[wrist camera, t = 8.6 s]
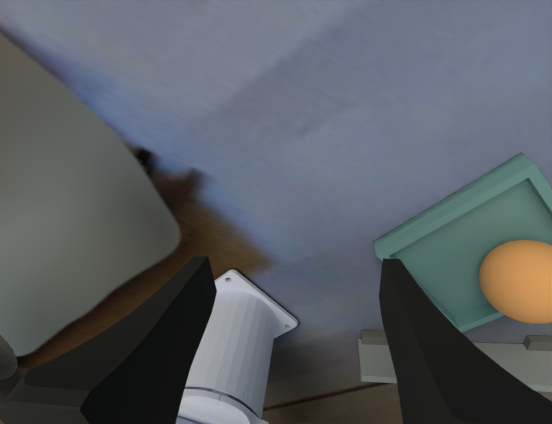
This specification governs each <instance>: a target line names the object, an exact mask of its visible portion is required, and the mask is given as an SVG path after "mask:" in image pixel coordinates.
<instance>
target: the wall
mask: <svg viewBox="0 0 552 424" xmlns="http://www.w3.org/2000/svg"><path fill="white" fill-rule="evenodd" d="M472 343H473V344H474V345H475V346H477V347H478V348H479V349H480V350H481V351H482V352H484V353H485V354H486V355H487V356H489V357H490V358H491V359H492V360H494V361H495V362H496V363H497V364H499V365H500V366H501V367H502V368H504V369H505V370H506V371H508V372H509V373H510V374H512V375H513V376H515V377H516V378H517V379H519V380H520V381H521V382H523V383H524V384H526V385H527V386H529V387H530V388H531V389H533V390H535V391H545V392H552V336H531V335H527V337H526V339H525V341H524V344H506V343H477V342H472ZM358 352H359V363H360V374H361V381H364V382H382V383H397V379H396V374H395V370H394V366H393V362H392V358H391V354H390V350H389V346H388V342H387V338H386V334H385V331H364V330H362V333H361V339H359V338H358Z"/></svg>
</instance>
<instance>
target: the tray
mask: <svg viewBox="0 0 552 424" xmlns="http://www.w3.org/2000/svg"><path fill="white" fill-rule="evenodd" d="M514 240H535V241H540V242H544V243H546V244H549V245H552V188H551V187H550V185H549V183H548V182H547V180H546V179H545V177H544V176H543V174H542V173H541V171H540V170H539V168H538V167H537V165H536V164H535V163H534V162H533V161H532V160H530V159H529V158H528V157H526V156H525V155H524V154H522V153H520V154H518V155H517V156H515V157H513V158H512V159H510V160H508V161H507V162H505V163H503V164H502V165H500V166H498V167H497V168H495V169H493V170H492V171H490V172H488V173H487V174H485V175H483V176H482V177H480V178H478V179H477V180H475V181H473V182H472V183H470V184H468V185H467V186H465V187H463V188H462V189H460V190H458V191H457V192H455V193H453V194H452V195H450V196H448V197H447V198H445V199H443V200H442V201H440V202H438V203H437V204H435V205H433V206H432V207H430V208H428V209H427V210H425V211H423V212H422V213H420V214H418V215H417V216H415V217H413V218H412V219H410V220H408V221H407V222H405V223H403V224H402V225H400V226H398V227H397V228H395V229H393V230H392V231H390V232H388V233H387V234H385V235H383V236H382V237H380V238H378V239H377V240H375V241H373V244H374V249H375V254H376V256H377V257H378V258H379V259H380V260H381V261H382V262H383V258H385V259H400V260H401V261H402V262H403V264H404V265H405V267H406V268H407V270H408V271H409V273H410V274H411V275H412V277H413V278H414V279H415V281H416V282H417V283H418V285H419V286H420V287H421V289H422V290H423V291H424V292H425V293H426V295H427V296H428V297H429V298H430V300H431V301H432V302H433V303H434V304H435V305H436V307H437V308H438V309H439V310H440V311H441V312H442V313H443V314H444V315H445V317H446V318H447V319H448V320H449V321H450V322H451V323H452V324H453V325H454V326H455V327H456V328H457V329H458V330H459V331H460V332H461V333H462V332H464V331H467V330H469V329H472V328H475V327H477V326H480V325H482V324H485V323H487V322H490V321H492V320H495V319H497V318H500V317H502V316H505V315H504V314H502V313H501V312H499V311H498V310H497V309H496V308H494V307H493V306H492V305H491V304H490V303H489V301H488V300H487V299H486V297H485V296H484V294H483V292H482V289H481V286H480V282H479V271H480V267H481V264H482V262H483V260H484V258H485V257H486V256H487V254H488V253H489V252H490V251H492V250H493V249H494V248H496V247H497V246H499V245H501V244H504V243H506V242H510V241H514Z"/></svg>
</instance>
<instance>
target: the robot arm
mask: <svg viewBox="0 0 552 424" xmlns="http://www.w3.org/2000/svg"><path fill="white" fill-rule="evenodd" d="M228 278H230V279H228ZM379 299H380V307H381V315H382V321H383V326H384V330H385V334H386V338H387V342H388V346H389V350H390V354H391V358H392V362H393V366H394V370H395V374H396V379H397V384H398V390H399V397H400V404H401V410H402V418H403V424H552V402H551V401H550V400H548V399H547V398H545V397H544V396H542V395H541V394H539V393H538V392H536V391H535V390H533V389H531V388H530V387H529V386H527V385H526V384H524V383H523V382H521V381H520V380H519V379H517V378H516V377H515V376H513V375H512V374H510V373H509V372H508V371H506V370H505V369H504V368H502V367H501V366H500V365H499V364H497V363H496V362H495V361H494V360H492V359H491V358H490V357H489V356H487V355H486V354H485V353H484V352H482V351H481V350H480V349H479V348H478V347H477V346H475V345H474V344H473V343H472V342H471V341H470V340H469V339H468V338H467V337H466V336H464V335H463V334H462V333H461V332H460V331H459V330H458V329H457V328H456V327H455V326H454V325H453V324H452V323H451V322H450V321H449V320H448V319H447V318H446V317H445V315H444V314H443V313H442V312H441V311H440V310H439V309H438V308H437V307H436V305H435V304H434V303H433V302H432V301H431V300H430V298H429V297H428V296H427V295H426V293H425V292H424V291H423V290H422V289H421V287H420V286H419V285H418V283H417V282H416V281H415V279H414V278H413V277H412V275H411V274H410V273H409V271H408V270H407V268H406V267H405V265H404V264H403V262H402V261H401V260H400V259H385V258H383V263H382V273H381V282H380V292H379ZM297 323H298V321H297V320H296V319H295V318H294V317H293V316H292V315H290V314H289V313H288V312H287V311H286V310H284V309H283V308H282V307H281V306H279V305H278V304H277V303H276V302H274V301H273V300H272V299H271V298H270V297H268V296H267V295H266V294H265V293H263V292H262V291H261V290H260V289H258V288H257V287H256V286H255V285H253V284H252V283H251V282H250V281H249V280H247V279H246V278H245V277H244V276H242V275H241V274H240V273H239V272H237V271H236V270H229V271H228V272H226V273H225V274H223V275H222V276H221V277H219V278H218V279H216V280H215V281H214V278H213V274H212V270H211V266H210V262H209V258H208V257H207V256H195V257H193V258H192V259H191V260H190V261H189V262H188V263H187V264H186V265H185V266H184V267H183V268H182V269H181V270H180V271H179V272H177V273H176V274H175V275H174V276H173V277H172V278H171V279H170V280H169V281H168V282H167V283H166V284H165V285H164V286H162V287H161V288H160V289H159V290H158V291H157V292H156V293H154V294H153V295H152V296H151V297H150V298H149V299H147V300H146V301H145V302H144V303H143V304H141V305H140V306H139V307H138V308H136V309H135V310H134V311H132V312H131V313H130V314H128V315H127V316H126V317H124V318H123V319H121V320H120V321H119V322H117V323H116V324H114V325H113V326H111V327H109V328H108V329H106V330H105V331H103V332H102V333H100V334H98V335H97V336H95V337H94V338H92V339H90V340H89V341H87V342H85V343H83V344H81V345H80V346H78V347H76V348H74V349H72V350H70V351H69V352H67V353H65V354H63V355H61V356H59V357H57V358H55V359H52V360H50V361H48V362H46V363H44V364H42V365H40V366H38V367H36V368H33V369H31V370H29V371H28V372H27V373H26V374H25V375H24V376H23V378H22V379H21V380H20V381H19V383H18V384H17V385H16V386H15V388H14V389H13V390H12V391H11V392H10V394H9V395H8V396H7V397H6V399H5V400H4V401H3V402H2V404H1V405H0V419H1V420H2V422H3V423H4V424H269V423H268V422H267V421H265V420H262V419H261V418H262V412H263V405H264V399H265V392H266V386H267V379H268V373H269V366H270V360H271V354H272V347H273V341H274V338H276V337H278V336H280V335H282V334H284V333H286V332H287V331H289V330H291V329H293V328H295V327H296V326H297Z"/></svg>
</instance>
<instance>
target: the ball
mask: <svg viewBox="0 0 552 424" xmlns="http://www.w3.org/2000/svg"><path fill="white" fill-rule="evenodd" d="M479 282H480V286H481V289H482V292H483V294H484V296H485V297H486V299H487V300H488V301H489V303H490V304H491V305H492V306H493V307H494V308H496V309H497V310H498V311H499V312H501V313H502V314H504V315H506V316H507V317H509V318H512V319H514V320H517V321H521V322H525V323H531V324H544V323H550V322H552V245H549V244H546V243H544V242H540V241H535V240H514V241H510V242H506V243H504V244H501V245H499V246H497V247H496V248H494V249H493V250H492V251H490V252H489V253H488V254H487V256H486V257H485V258H484V260H483V262H482V264H481V267H480V271H479Z"/></svg>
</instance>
